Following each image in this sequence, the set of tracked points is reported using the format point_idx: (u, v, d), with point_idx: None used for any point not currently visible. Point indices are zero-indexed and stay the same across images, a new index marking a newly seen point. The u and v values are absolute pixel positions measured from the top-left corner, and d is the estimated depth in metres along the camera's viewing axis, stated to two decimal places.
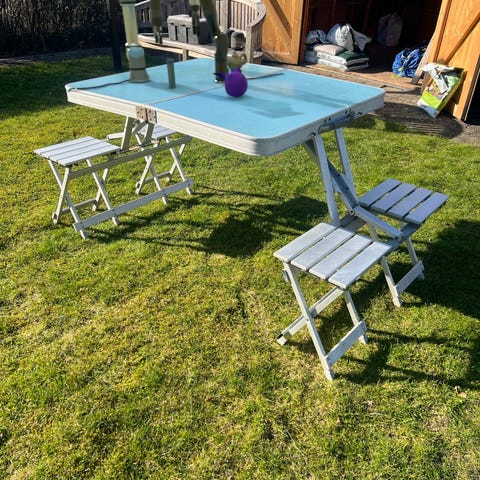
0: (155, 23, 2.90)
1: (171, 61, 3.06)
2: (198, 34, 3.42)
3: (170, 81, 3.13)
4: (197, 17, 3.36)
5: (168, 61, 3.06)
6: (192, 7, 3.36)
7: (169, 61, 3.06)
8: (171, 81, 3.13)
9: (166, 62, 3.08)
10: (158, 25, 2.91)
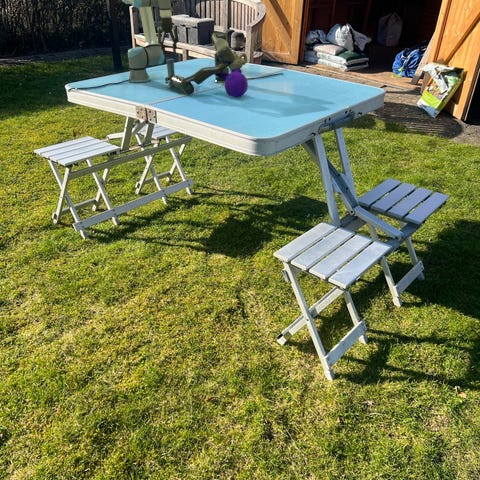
0: (172, 78, 3.04)
1: (171, 61, 3.06)
2: None
3: None
4: None
5: (168, 61, 3.06)
6: (171, 19, 2.95)
7: (169, 61, 3.06)
8: None
9: (166, 62, 3.08)
10: (171, 81, 3.05)
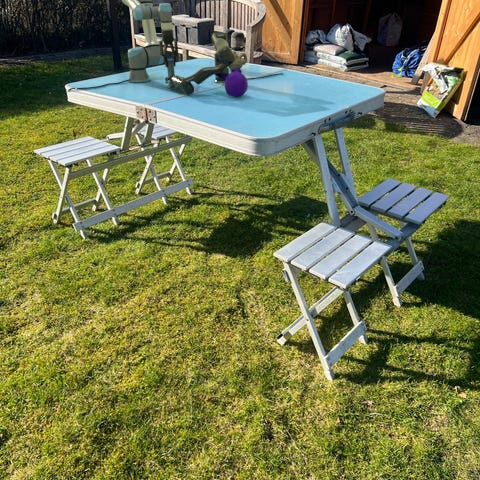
0: (172, 78, 3.04)
1: (171, 61, 3.06)
2: None
3: None
4: None
5: (168, 61, 3.06)
6: (172, 32, 2.99)
7: (169, 61, 3.06)
8: None
9: None
10: (171, 81, 3.05)
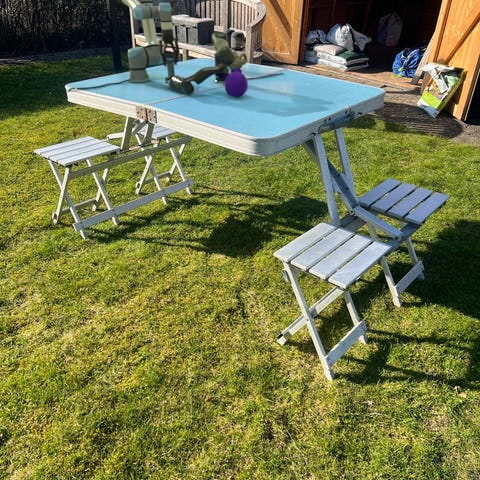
0: (172, 78, 3.04)
1: None
2: None
3: None
4: None
5: (172, 60, 3.07)
6: (172, 31, 2.99)
7: (173, 60, 3.07)
8: None
9: (170, 62, 3.06)
10: (171, 81, 3.05)
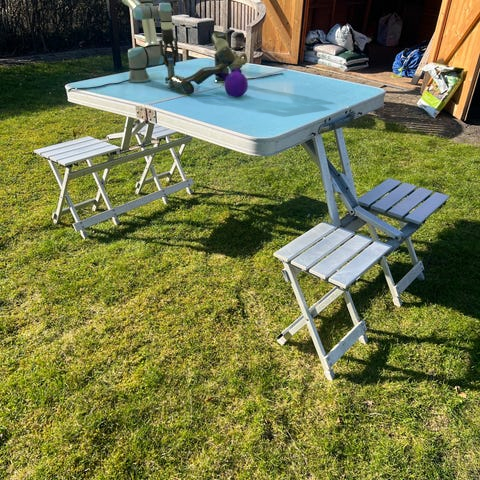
0: (172, 78, 3.04)
1: None
2: None
3: None
4: None
5: (172, 60, 3.07)
6: (172, 31, 2.99)
7: (173, 60, 3.07)
8: None
9: (170, 62, 3.06)
10: (171, 81, 3.05)
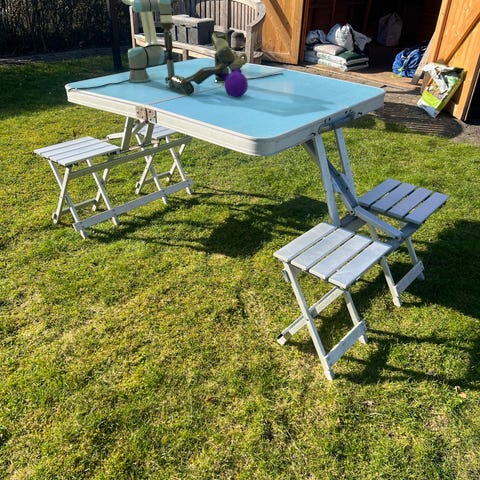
0: (172, 78, 3.04)
1: None
2: None
3: None
4: None
5: None
6: None
7: None
8: None
9: None
10: (171, 81, 3.05)
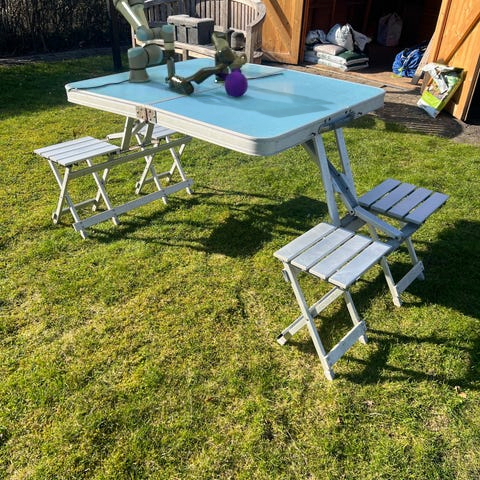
0: (172, 78, 3.04)
1: None
2: None
3: None
4: None
5: None
6: None
7: None
8: None
9: None
10: (171, 81, 3.05)
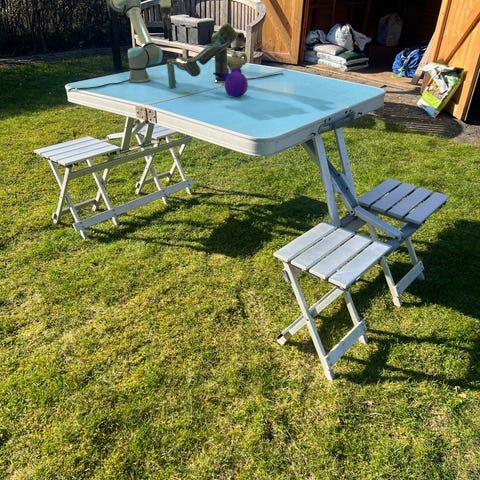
0: (176, 60, 2.87)
1: None
2: None
3: (170, 81, 3.13)
4: None
5: None
6: None
7: None
8: (171, 81, 3.13)
9: None
10: (175, 62, 2.88)
